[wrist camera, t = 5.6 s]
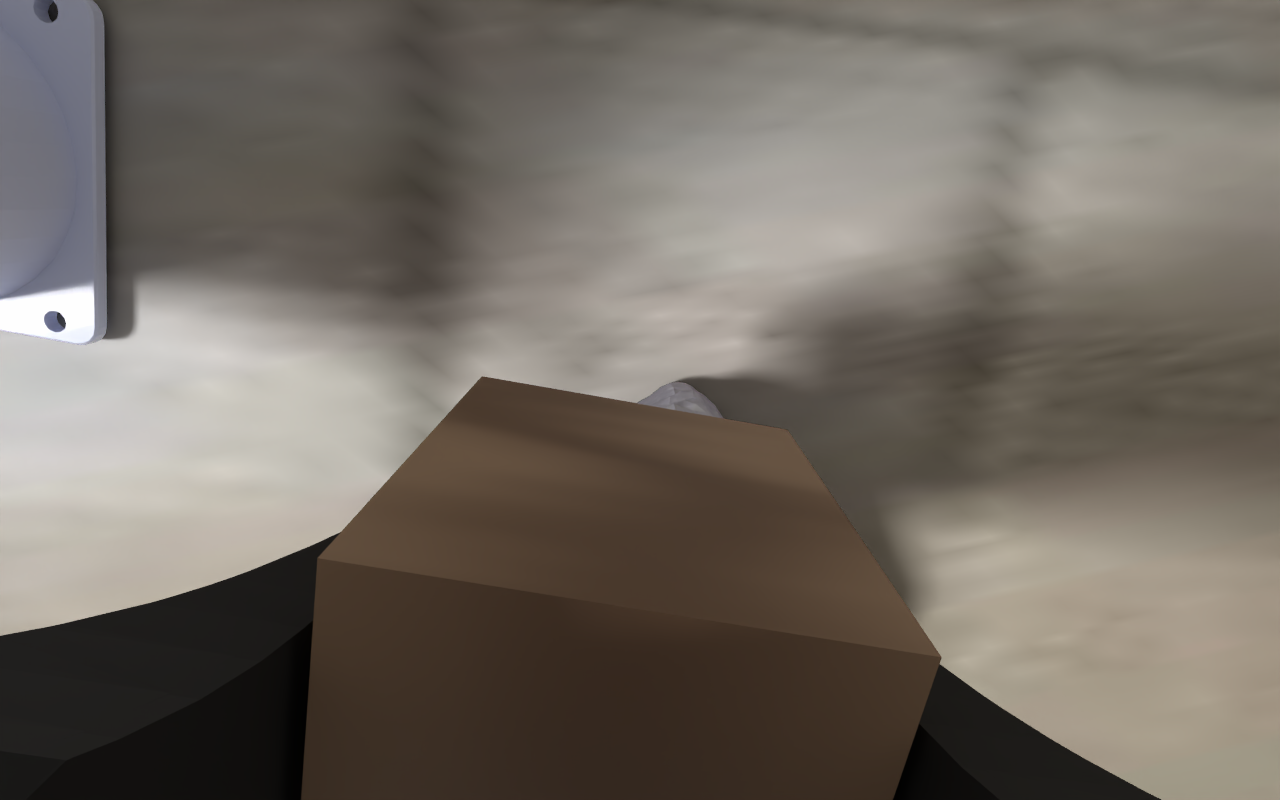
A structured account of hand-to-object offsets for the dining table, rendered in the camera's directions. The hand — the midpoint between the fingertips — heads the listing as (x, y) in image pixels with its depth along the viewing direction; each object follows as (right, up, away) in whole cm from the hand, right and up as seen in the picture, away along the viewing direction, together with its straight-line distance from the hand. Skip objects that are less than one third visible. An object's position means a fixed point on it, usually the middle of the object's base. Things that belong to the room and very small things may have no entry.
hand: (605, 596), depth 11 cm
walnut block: (0, +1, +1) cm, 2 cm away
